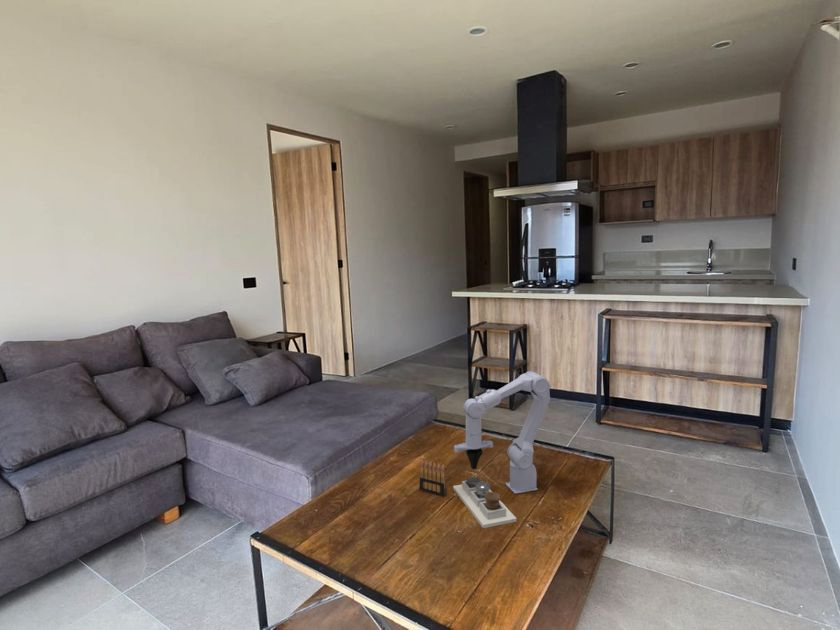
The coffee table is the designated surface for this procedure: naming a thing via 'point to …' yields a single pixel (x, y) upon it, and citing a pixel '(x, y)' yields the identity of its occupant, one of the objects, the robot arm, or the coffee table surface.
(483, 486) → the knob steel
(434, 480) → the ammunition clip
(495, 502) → the knob walnut
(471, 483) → the knob graphite
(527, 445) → the robot arm
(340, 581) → the coffee table surface
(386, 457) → the coffee table surface
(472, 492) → the mount board
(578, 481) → the coffee table surface
